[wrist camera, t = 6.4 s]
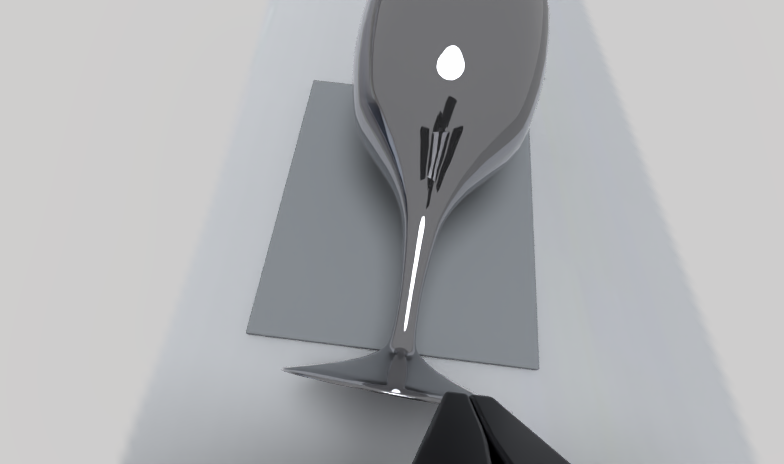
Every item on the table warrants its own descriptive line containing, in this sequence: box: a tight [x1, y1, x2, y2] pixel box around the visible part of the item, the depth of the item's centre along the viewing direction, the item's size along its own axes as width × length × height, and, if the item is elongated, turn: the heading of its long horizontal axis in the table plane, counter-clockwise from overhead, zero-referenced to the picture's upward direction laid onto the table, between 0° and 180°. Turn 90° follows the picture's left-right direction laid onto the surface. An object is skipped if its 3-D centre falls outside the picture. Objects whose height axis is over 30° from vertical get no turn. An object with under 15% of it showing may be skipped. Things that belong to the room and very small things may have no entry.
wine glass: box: [281, 0, 550, 415], centre depth 15 cm, size 8×8×15 cm
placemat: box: [246, 80, 539, 370], centre depth 19 cm, size 14×12×1 cm
